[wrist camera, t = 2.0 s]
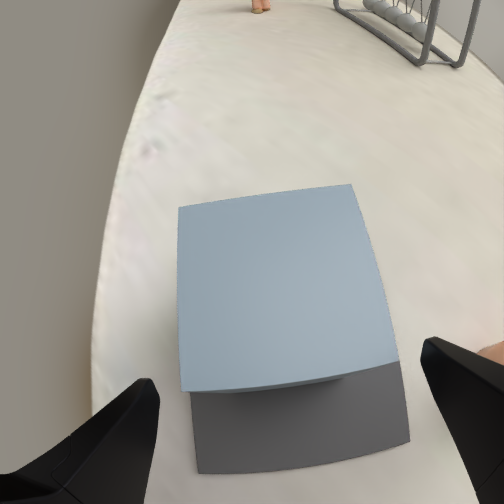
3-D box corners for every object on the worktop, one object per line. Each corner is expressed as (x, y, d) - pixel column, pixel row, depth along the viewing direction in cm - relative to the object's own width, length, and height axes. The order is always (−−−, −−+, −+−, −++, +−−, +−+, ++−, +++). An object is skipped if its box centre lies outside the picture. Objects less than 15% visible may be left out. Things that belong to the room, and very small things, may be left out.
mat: (407, 440, 15) (410, 441, 15) (200, 472, 16) (198, 473, 15) (365, 232, 22) (366, 230, 22) (186, 256, 23) (184, 254, 23)
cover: (343, 377, 17) (399, 360, 9) (231, 393, 18) (181, 391, 9) (324, 275, 21) (351, 184, 12) (222, 289, 21) (178, 207, 12)
